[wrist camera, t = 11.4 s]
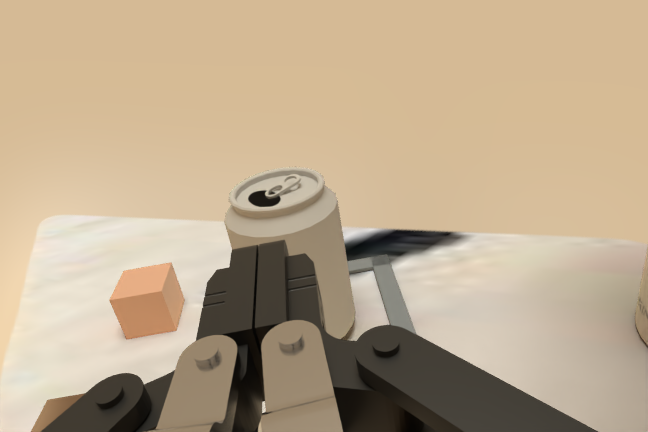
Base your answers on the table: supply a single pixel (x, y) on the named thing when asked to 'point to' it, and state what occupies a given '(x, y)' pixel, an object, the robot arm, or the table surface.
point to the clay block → (148, 301)
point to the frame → (386, 288)
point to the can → (297, 231)
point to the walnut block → (53, 411)
